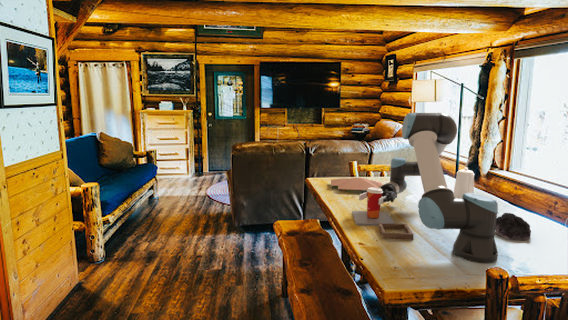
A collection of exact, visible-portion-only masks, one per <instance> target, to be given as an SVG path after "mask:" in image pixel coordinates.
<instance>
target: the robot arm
mask: <svg viewBox="0 0 568 320" xmlns="http://www.w3.org/2000/svg"><path fill="white" fill-rule="evenodd" d="M455 121H456V120H455V119H453V117H451V116H450V115H449V114H447V113H444V112H410V113H407V114H406V115H405V117H404V118H403V123H402V128H401V137H402V138H403V140H408V144H409V145H410V147H413V148H414V154H415V158H416V161H407V159H406V158H404V157H393V158H391V161H390V178H389V182H387V183H385V184H383V185H382V186H381V187H380V189H382V191H383V193H382V198H380V199H379V205H382V204H384V203H387V202H388V203H389V202H390V203H394V201H395V200H396V199H397V198H398V195H400V194H402V193H403V192H404V191H405V190H407V186H408V184H407V181H406V180H405V178H406V177H409V176H413V177H414V176H417V177H418V176H419V177H420V179H421V184H422V189H423V193H422V194H421V197H420V199H419V200H418V204H417V209H418V215H419V218H420V221H421V222H422V224H423V225H424V226H425V227H426V228H428V229H433V230H459V233H458V234H457V237H456V239H455V241H454V243H453V245H452V252H453V253H454V255H456V256H457V257H459V258H461V259H463V260H466V261H469V262H472V263H477V264H478V263H479V264H492V263H495V262H496V261H498V258H499V252H498V248H497V245H496V241H495V234H496V230H495V227H496V219H497V218H498V217H497V216H498V214H499V208H498V207H499V206H498V202H497V200H495V199H493V198H492V197H489V196H486V195H483V194H478V193H475V192H474V193H464V194H463V196H462V197H463V198H455V197H454V194H453V193H454V190H452V189H451V188H448V185H447V182H446V178H445V174H444V171H443V167H442V164H441V159H440V156H441V154H442V153H443V152H444V151H445V149H446V148H447V146H448V145H450V144H452V143H453V141H454V140H455V138H456V137H457V134H458V127H457V123H456V122H455ZM360 191H361V193H359V196H358V201H359V202H360V201H363V200H365V199H367V190H360Z"/></svg>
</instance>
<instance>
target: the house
mask: <svg viewBox="0 0 568 320" xmlns="http://www.w3.org/2000/svg"><path fill="white" fill-rule="evenodd" d="M382 185H384V184H383V183H382V182H380V181H376V180H372V179H368V178H364V177H351V178H349V177H348V178H342V177H341V178H334V179H330V186H331V187H332V188H331V189H335V187H336V189H338V190H347V194H350V193H351V194H352V193H353V194H354V191H355V194H358V191H359V194H361V191H363V190H368V188H371V187H373V188H379V189H380V187H381V186H382ZM333 186H334V187H333Z"/></svg>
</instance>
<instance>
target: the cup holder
mask: <svg viewBox="0 0 568 320" xmlns="http://www.w3.org/2000/svg"><path fill="white" fill-rule="evenodd" d="M377 227H378V230H379V233H380V235H381V237H382V239H383V240H398V241H399V240H400V241H401V240H402V241H404V240H405V241H413V240H414V232H413V231H412V229H410V227H409V225H408V223H396V222H394V223H379V225H378V226H377ZM386 230H392V231H393V230H394V231H395V230H396V231H398V230H399V231H404V232H387V231H386Z"/></svg>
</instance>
